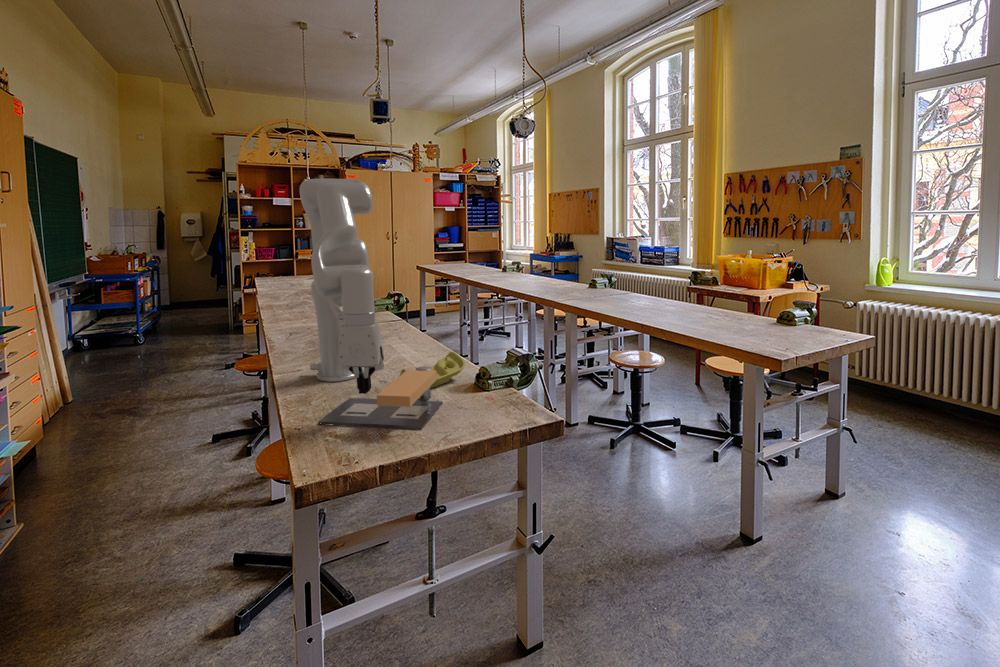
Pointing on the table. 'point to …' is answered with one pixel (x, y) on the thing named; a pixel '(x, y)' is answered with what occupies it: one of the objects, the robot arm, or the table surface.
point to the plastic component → (446, 368)
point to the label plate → (383, 413)
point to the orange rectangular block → (407, 387)
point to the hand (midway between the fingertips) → (364, 392)
